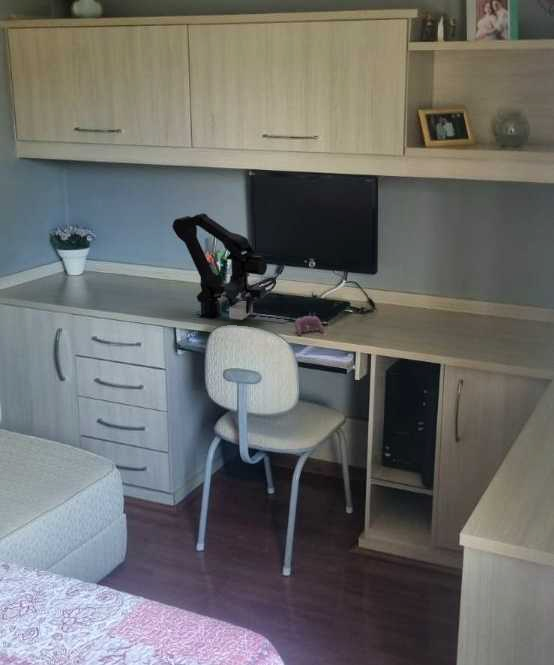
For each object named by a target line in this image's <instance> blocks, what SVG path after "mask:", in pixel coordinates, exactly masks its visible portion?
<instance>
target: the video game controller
mask: <svg viewBox="0 0 554 665" xmlns="http://www.w3.org/2000/svg"><path fill="white" fill-rule="evenodd" d="M321 321H322V320H320V318H319V317H318V316H316V315H315V316H314V315H306V316H305V315H304V316H301V317H298V318H297V319H296V320H294V324H293V325H294V328H295V330H296V331H295V332H296V333H297V335H298V336H299V337H301V336H302V332H305V333H307V331H310V332H311V331H312V332H315V331H316V329H318V331H319V332H320V333H321V334H323V333H324V326H323V323H322V322H321ZM306 325H309V327H307V326H306ZM308 329H309V330H308ZM312 332H311V333H312Z"/></svg>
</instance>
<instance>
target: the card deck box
mask: <svg viewBox="0 0 554 665" xmlns="http://www.w3.org/2000/svg"><path fill="white" fill-rule="evenodd" d="M228 311H229V312H228V314H229V319H233V320H241V321H242V320H244V319H245V318H247V317H248V316H250V315H252V314H253V305H252V306H251V308H250V311H249V313H248V314H247V313H246V301H245V300H244V301H242V300H239V301H238V302H237V301H236V304H235V305H233V306H231V305H230V306H229V308H228Z"/></svg>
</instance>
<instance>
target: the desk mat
mask: <svg viewBox="0 0 554 665" xmlns="http://www.w3.org/2000/svg"><path fill="white" fill-rule="evenodd" d="M252 320H253V321H256V322H257V321H258V322H267V323H275V324H281V325H282V324H283V325H285V324H286V323H288V322H289V321H290V320H284V319H276V318H268V317H260V316H258V315H256V316H255V317H253V318H252Z"/></svg>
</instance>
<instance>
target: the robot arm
mask: <svg viewBox="0 0 554 665" xmlns="http://www.w3.org/2000/svg"><path fill="white" fill-rule="evenodd" d="M197 226H198V227H199V228H201V229H202V230H203V231H204V232H206V233H208V234H210V236H212V237H214V238H215V239H216V240H218V241H220V242H221V244H222V245H223V247H224V249H225V250H226V251H227V252H229V255H227V256H226V257H225V259H226V260H230V261H231V262H230V263H231V266H230V267H231V275H229V280H228V282H224V280H223V279H222V276H221V274H220V273H219V274H216V273H215V272H213V270H212V267H211V265H210V263H209V261H208V259H207V256H206V254H205V252H204V250H203V248H202V246H201V243H200V241H199V238H198V227H197ZM172 230H173V231H174V233H175V234H176V237H177V238H178V239H180V241H182V242H184V244H185V246H186V248H187V251H188V253H189V255H190V257H191V259H192V261H193V264H194V266H195V268H196V270H197V273H198V275H199V277H200V289H201V291H200V292H199V293H198V294H197V295H196V299H197V302H199V303H200V312H201V314H199V315H198V316H199V317H200V318H207V319H208V318H210V319H216V318H217V317H218V316H220V315H222V314H221V313H222V312H221V303H220V298H222V297H224V298H226V299H227V301H228V303H229V304H230V307H231V306H233V305H235V304H236V303H237V297H238V296H239V295H240V294H247V295H246V296H245V297H244V299H245V302H246V313H247V314H248V313H249V311H250V308H251V306H252V307H253V303H254V300H255V299H261V298H263V297H264V296H266V295H267V289H266V287H265V286H254V287H253V288H250V283H249V282H248V280H249V276H250V275H257V276H258V275H259V276H264V275H265V274H266V273H267V269H268V264H267V262H266V260H265V259H264V256H263V255H256V252H255V250H254V249H253V248H252V246H251V244H250V243H249V239H248V238H247V237H246V236H244V235H242V234H239V233H234V232H231V231H229V229H227V228H225V227H224V226H223V225H221V224H219V223H218V222H216V221H215V220H214V219H212V218H211V217H209V216H208V215H207V213H199V214H196V215H194V216H189V215H187V216H183V217H179V218H176V219H174V221H173V223H172Z"/></svg>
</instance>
